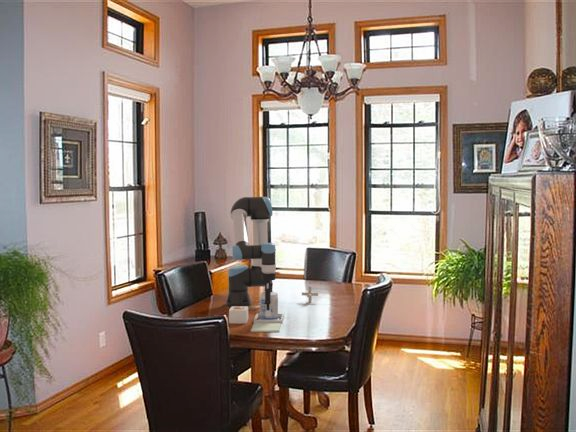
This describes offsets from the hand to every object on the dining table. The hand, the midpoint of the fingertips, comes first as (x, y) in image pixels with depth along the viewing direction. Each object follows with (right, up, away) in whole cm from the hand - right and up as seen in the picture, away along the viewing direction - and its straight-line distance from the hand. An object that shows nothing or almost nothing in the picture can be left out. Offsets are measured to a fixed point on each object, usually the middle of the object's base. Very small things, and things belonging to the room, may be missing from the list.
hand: (269, 313), depth 305 cm
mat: (-1, -5, -16) cm, 16 cm away
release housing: (-16, -4, -1) cm, 17 cm away
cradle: (0, -4, 0) cm, 4 cm away
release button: (-16, -1, -1) cm, 16 cm away
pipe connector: (+24, -1, +44) cm, 50 cm away
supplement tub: (0, -4, 0) cm, 4 cm away
